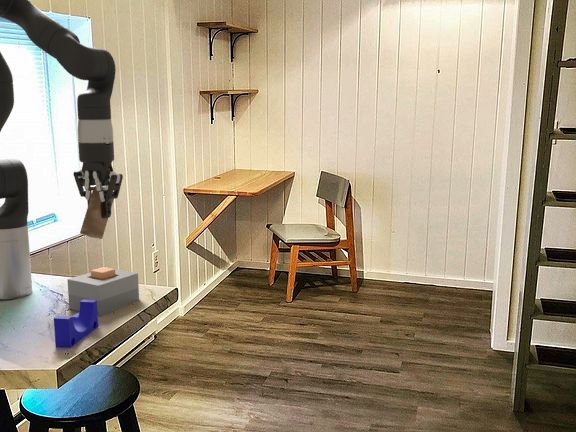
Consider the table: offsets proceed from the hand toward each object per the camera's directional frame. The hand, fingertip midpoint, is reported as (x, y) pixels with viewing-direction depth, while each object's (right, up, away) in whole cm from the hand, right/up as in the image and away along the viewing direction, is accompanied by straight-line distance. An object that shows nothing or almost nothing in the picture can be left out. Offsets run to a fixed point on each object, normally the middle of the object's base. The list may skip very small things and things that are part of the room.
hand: (99, 216), depth 144 cm
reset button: (0, -15, +3) cm, 16 cm away
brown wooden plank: (-2, -4, -2) cm, 5 cm away
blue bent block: (-1, -25, -16) cm, 29 cm away
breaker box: (0, -21, +4) cm, 21 cm away
